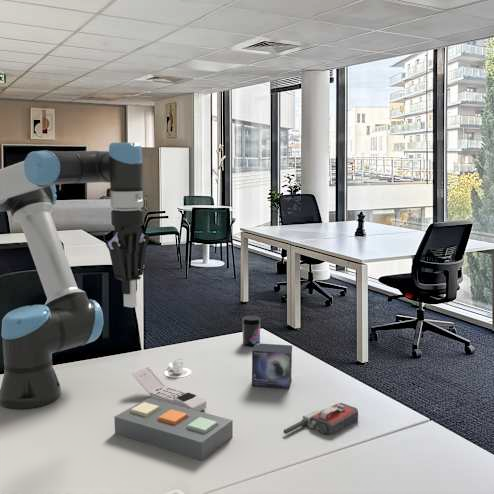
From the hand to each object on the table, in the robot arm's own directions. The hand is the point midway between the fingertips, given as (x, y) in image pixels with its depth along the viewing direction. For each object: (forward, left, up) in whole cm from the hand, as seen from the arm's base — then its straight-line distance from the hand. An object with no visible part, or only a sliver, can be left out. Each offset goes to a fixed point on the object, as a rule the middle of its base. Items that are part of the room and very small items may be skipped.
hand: (130, 306), depth 143 cm
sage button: (+25, -6, -26) cm, 37 cm away
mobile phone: (+5, +8, -27) cm, 29 cm away
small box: (+22, +32, -27) cm, 47 cm away
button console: (+17, -6, -26) cm, 32 cm away
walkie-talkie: (+44, +15, -27) cm, 54 cm away
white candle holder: (-5, +29, -27) cm, 40 cm away
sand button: (+9, -6, -26) cm, 28 cm away
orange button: (+17, -6, -26) cm, 32 cm away
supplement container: (0, +59, -27) cm, 65 cm away
